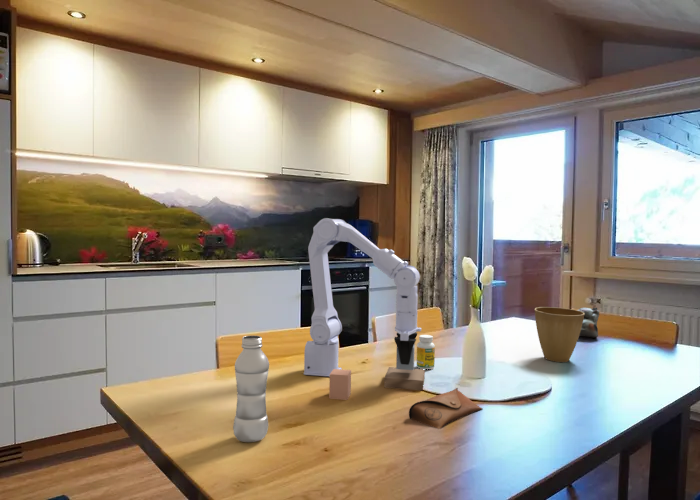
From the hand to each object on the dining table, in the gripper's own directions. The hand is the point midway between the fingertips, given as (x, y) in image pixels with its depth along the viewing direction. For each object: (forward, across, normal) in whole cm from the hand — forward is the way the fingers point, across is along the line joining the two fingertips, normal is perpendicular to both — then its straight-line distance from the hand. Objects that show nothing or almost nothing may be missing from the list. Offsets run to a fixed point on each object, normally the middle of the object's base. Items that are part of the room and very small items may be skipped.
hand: (405, 361), depth 130 cm
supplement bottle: (+6, +16, -5) cm, 18 cm away
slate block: (+2, 0, 0) cm, 2 cm away
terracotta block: (+6, -14, +15) cm, 21 cm away
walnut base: (+6, 0, 0) cm, 6 cm away
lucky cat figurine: (+6, +76, -64) cm, 99 cm away
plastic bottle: (+6, -42, +27) cm, 50 cm away
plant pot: (+6, +36, -47) cm, 60 cm away
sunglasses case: (+6, -20, -11) cm, 23 cm away
